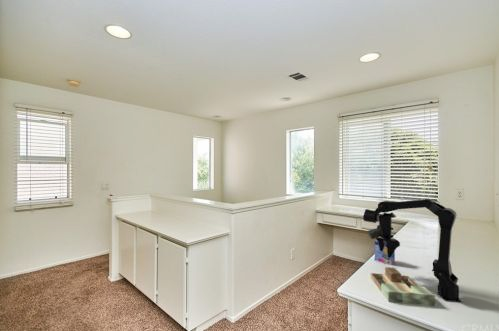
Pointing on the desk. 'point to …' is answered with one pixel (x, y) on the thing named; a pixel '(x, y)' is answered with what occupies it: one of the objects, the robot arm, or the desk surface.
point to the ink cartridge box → (383, 255)
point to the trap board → (403, 290)
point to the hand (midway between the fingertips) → (385, 254)
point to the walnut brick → (393, 274)
